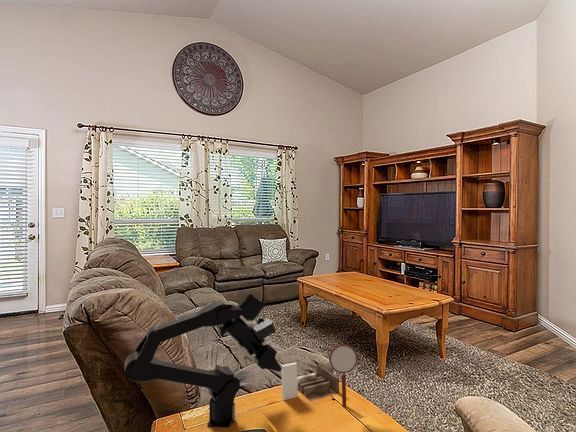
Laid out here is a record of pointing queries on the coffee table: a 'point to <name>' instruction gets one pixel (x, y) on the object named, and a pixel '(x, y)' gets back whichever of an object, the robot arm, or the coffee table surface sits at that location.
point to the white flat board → (289, 381)
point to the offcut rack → (318, 384)
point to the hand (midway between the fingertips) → (275, 364)
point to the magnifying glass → (343, 364)
